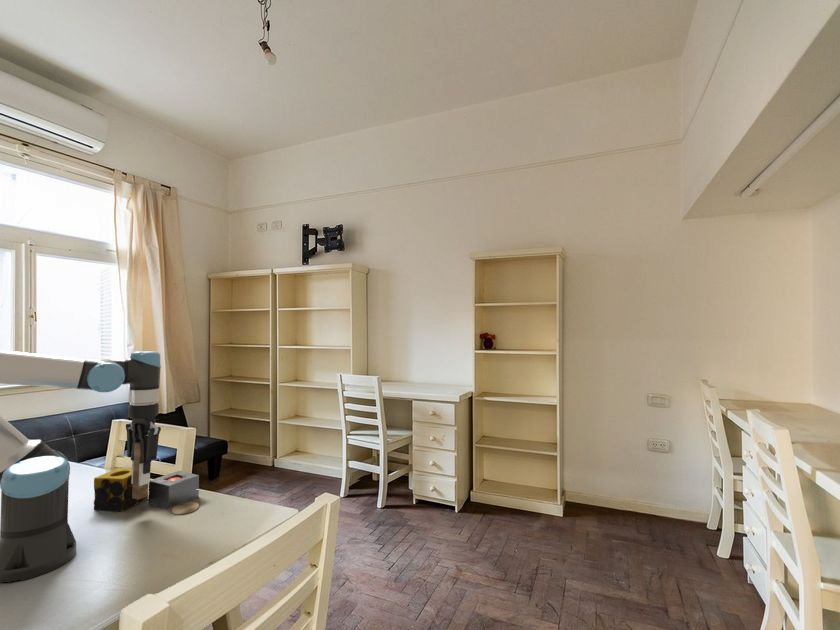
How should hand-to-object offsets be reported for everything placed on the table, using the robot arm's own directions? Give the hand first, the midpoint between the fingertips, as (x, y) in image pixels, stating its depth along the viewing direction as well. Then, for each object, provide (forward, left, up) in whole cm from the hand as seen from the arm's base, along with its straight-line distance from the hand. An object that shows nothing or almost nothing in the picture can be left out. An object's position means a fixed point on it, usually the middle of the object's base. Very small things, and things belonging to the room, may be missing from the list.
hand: (140, 483), depth 120 cm
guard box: (+12, +2, -10) cm, 15 cm away
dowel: (0, 0, -4) cm, 4 cm away
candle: (+3, +14, -10) cm, 17 cm away
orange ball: (+12, +2, -7) cm, 14 cm away
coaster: (+9, -8, -10) cm, 15 cm away
